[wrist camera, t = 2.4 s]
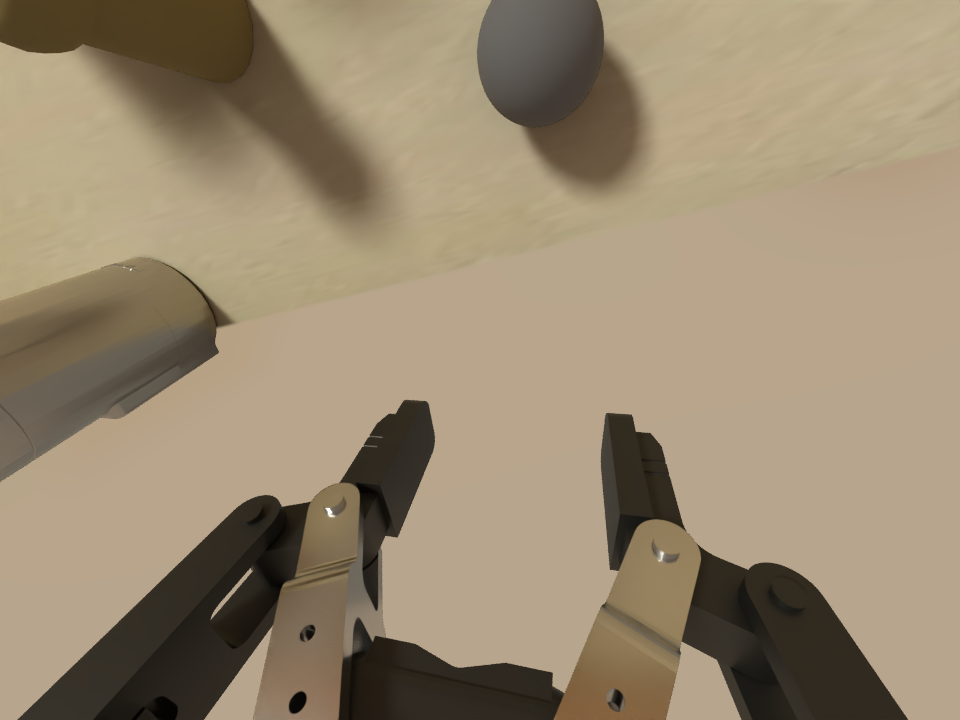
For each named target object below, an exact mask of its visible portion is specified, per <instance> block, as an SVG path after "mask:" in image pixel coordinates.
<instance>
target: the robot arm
mask: <svg viewBox="0 0 960 720" xmlns="http://www.w3.org/2000/svg"><path fill="white" fill-rule="evenodd" d="M215 338H216V323H215V320H214V317H213V314H212V312H211V310H210V308H209V306H208V304H207V302H206V301H205V299H204V298H203V296H202V295H201V294H200V292H199V291H198V290H197V289H196V288H195V287H194V286H193V285H192V284H191V283H190V282H189V281H188V280H187V279H186V278H185V277H184V276H182V275H181V274H180V273H178V272H177V271H175V270H174V269H172V268H171V267H169V266H167V265H165V264H163V263H161V262H158V261H155V260H152V259H149V258H133V259H129V260H126V261H123V262H120V263H115V264H111V265H108V266H105V267H102V268H100V269H98V270H95V271H92V272H89V273H86V274H83V275H79V276H76V277H73V278H70V279H67V280H64V281H61V282H58V283H54V284H51V285H48V286H45V287H42V288H39V289H36V290H33V291H30V292H27V293H24V294H21V295H18V296H15V297H12V298H8V299H5V300H2V301H0V482H1V481H2V480H4V479H5V478H7V477H9V476H10V475H12V474H13V473H15V472H16V471H18V470H19V469H21V468H23V467H24V466H26V465H27V464H29V463H31V462H32V461H33V460H35V459H36V458H38V457H40V456H41V455H43V454H44V453H46V452H47V451H49V450H50V449H52V448H54V447H55V446H57V445H58V444H60V443H61V442H63V441H64V440H66V439H68V438H69V437H71V436H72V435H74V434H75V433H77V432H79V431H80V430H82V429H83V428H85V427H86V426H88V425H90V424H91V423H93V422H94V421H96V420H97V419H99V418H110V419H118V418H121V417H124V416H125V415H127V414H128V413H130V412H131V411H133V410H134V409H136V408H137V407H139V406H140V405H142V404H143V403H145V402H146V401H148V400H149V399H151V398H152V397H154V396H155V395H157V394H158V393H160V392H161V391H163V390H164V389H166V388H167V387H169V386H170V385H172V384H173V383H175V382H176V381H178V380H179V379H181V378H182V377H183V376H185V375H186V374H188V373H190V372H191V371H192V370H194V369H195V368H197V367H198V366H200V365H201V364H203V363H204V362H206V361H207V360H209V359H210V358H212V357H213V356H215V355H216V354H218V352H219V351H218V349H217V347H216V345H215ZM434 443H435V435H434V429H433V424H432V420H431V414H430V409H429V405H428V403H427V402H426V401H415V400H404V401H403V403H402V404H401V406H400V408H399V409H398V411H397V413H396V414H388V415H387V416H386V417H384V418H383V419H382V420H381V421H380V422H379V423H377V425H376V426H375V428H374V429H373V431H372V432H371V434H370V437H369V438H368V439H367V440H366V442H365V444H364V447H362V448H361V450H360V451H359V453H358V455H357V456H356V458H355V459H354V461H353V463H352V464H351V466H350V467H349V469H348V471H347V472H346V474H345V476H344V477H343V478H342V480H341V482H340V483H337V484H334V485H331V486H328V487H327V488H325V489H323V490H322V491H320V492H319V493H318V494H317V495H316V496H315V497H314V498H313V500H312V501H311V502H308V503H302V504H296V505H290V506H285V507H282V506H281V504H280V502H279V501H278V499H277V498H275V497H273V496H270V495H263V496H258V497H255V498H252V499H250V500H248V501H246V502H244V503H243V504H241V505H240V506H238V507H237V508H236V509H235V510H234V511H233V512H232V513H231V514H230V515H229V516H228V517H227V518H226V519H225V520H224V521H222V522H221V523H220V525H218V526H217V527H216V528H215V529H214V530H213V531H212V532H211V533H210V534H209V535H208V536H207V537H206V538H205V539H204V540H203V541H202V542H201V543H200V544H199V545H198V546H197V547H196V548H195V549H194V550H192V551H191V552H190V553H189V554H188V555H187V556H186V557H185V558H184V559H183V560H182V561H181V562H180V563H179V564H178V565H177V566H176V567H175V568H174V569H173V570H172V571H171V572H170V573H169V574H168V575H167V576H166V577H165V578H164V579H163V580H161V581H160V582H159V583H158V584H157V585H156V586H155V587H154V588H153V589H152V590H151V591H150V592H149V593H148V594H147V595H146V596H145V597H144V598H143V599H142V600H141V601H140V602H139V603H138V604H137V605H136V606H135V607H134V608H133V609H132V610H130V612H128V613H127V614H126V615H125V616H124V617H123V618H122V619H121V620H120V621H119V622H118V623H117V624H116V625H115V626H114V627H113V628H112V629H111V630H110V631H109V632H108V633H107V634H106V635H105V636H104V637H103V638H102V639H100V640H99V642H97V643H96V644H95V645H94V646H93V647H92V648H91V649H90V650H89V651H88V652H87V653H86V654H85V655H84V656H83V657H82V658H81V659H80V660H79V661H78V662H77V663H76V664H75V665H74V666H73V667H72V668H71V669H69V670H68V671H67V673H65V674H64V675H63V676H62V677H61V678H60V679H59V680H58V681H57V682H56V683H55V684H54V685H53V686H52V687H51V688H50V689H49V690H48V691H47V692H46V693H45V694H44V695H43V696H42V697H41V698H40V699H38V701H37V702H35V703H34V704H33V705H32V706H31V707H30V708H29V709H28V710H27V711H26V712H25V713H24V714H23V715H22V716H21V717H20V718H19V719H18V720H204V719H205V717H206V716H207V715H208V713H209V712H210V710H211V709H212V708H213V706H214V705H215V704H216V702H217V701H218V700H219V698H220V697H221V695H222V694H223V693H224V691H225V690H226V689H227V687H228V686H229V684H230V683H231V682H232V680H233V679H234V678H235V676H236V675H237V674H238V672H239V671H240V669H241V668H242V667H243V665H244V664H245V662H246V661H247V660H248V658H249V657H250V656H251V654H252V653H253V651H254V650H255V649H256V647H257V646H258V645H259V643H260V642H261V641H262V639H263V638H264V636H265V635H266V634H267V632H268V631H269V630H270V628H271V627H272V626H273V628H272V633H271V638H270V643H269V647H268V651H267V656H266V661H265V665H264V670H263V675H262V680H261V684H260V689H259V693H258V698H257V703H256V707H255V712H254V716H253V720H666V717H667V713H668V708H669V704H670V700H671V696H672V691H673V687H674V683H675V679H676V675H677V670H678V666H679V660H680V654H681V652H680V645H681V641H682V642H684V643H686V644H688V645H690V646H692V647H694V648H696V649H697V650H700V651H701V652H703V653H705V654H707V655H709V656H711V657H713V658H715V659H717V661H718V663H719V665H720V668H721V671H722V673H723V675H724V678H725V680H726V683H727V685H728V688H729V690H730V693H731V695H732V697H733V700H734V702H735V705H736V707H737V710H738V712H739V715H740V717H741V719H742V720H908V719H907V717H906V716H905V715H904V713H903V712H902V710H901V709H900V707H899V706H898V704H897V703H896V702H895V700H894V699H893V698H892V696H891V694H890V693H889V691H888V690H887V689H886V687H885V686H884V684H883V683H882V681H881V680H880V678H879V677H878V675H877V674H876V672H875V671H874V669H873V668H872V667H871V665H870V664H869V662H868V661H867V659H866V658H865V656H864V655H863V654H862V652H861V650H860V649H859V648H858V646H857V645H856V643H855V642H854V640H853V639H852V637H851V636H850V634H849V633H848V632H847V630H846V629H845V627H844V626H843V624H842V623H841V621H840V620H839V619H838V617H837V616H836V614H835V613H834V611H833V610H832V608H831V607H830V605H829V604H828V602H827V601H826V600H825V598H824V597H823V595H822V594H821V593H820V592H819V590H818V589H817V588H816V587H815V586H814V585H813V584H812V583H811V582H809V581H808V580H807V579H806V578H804V577H803V576H802V575H800V574H799V573H797V572H795V571H793V570H791V569H789V568H787V567H785V566H782V565H779V564H774V563H758V564H755V565H753V566H752V567H751V568H750V569H749V570H747V569H745V568H742V567H740V566H737V565H735V564H732V563H730V562H727V561H725V560H723V559H720V558H718V557H716V556H714V555H712V554H710V553H708V552H707V551H705V550H704V549H702V548H701V547H700V546H699V545H698V544H697V543H696V542H695V541H694V539H693V538H692V537H691V536H690V534H688V533H687V531H686V530H685V528H684V525H683V523H682V519H681V516H680V512H679V509H678V505H677V501H676V498H675V494H674V491H673V487H672V483H671V480H670V477H669V472H668V468H667V465H666V464H665V457H664V454H663V450H662V447H661V445H660V444H659V443H658V442H657V440H656V439H655V438H654V437H653V436H652V435H651V433H642V432H636V431H635V426H634V421H633V417H632V415H628V414H614V413H606V416H605V424H604V432H603V440H602V449H601V472H602V484H603V495H604V506H605V518H606V529H607V541H608V553H609V562H610V563H609V565H610V570H616V571H619V572H618V574H617V577H616V579H615V581H614V584H613V586H612V589H611V591H610V593H609V596H608V598H607V600H606V602H605V604H603V605H602V606H601V608H600V610H599V613H598V614H597V617H596V619H595V621H594V624H593V627H592V629H591V631H590V633H589V636H588V638H587V641H586V643H585V645H584V648H583V650H582V653H581V655H580V658H579V660H578V662H577V665H576V667H575V669H574V672H573V674H572V677H571V679H570V682H569V684H568V686H567V689H566V691H565V693H563V692H562V691H560V690H558V689H556V688H555V687H553V686H552V677H553V673H551V672H546V671H542V670H537V669H532V668H527V667H523V666H518V665H513V664H508V663H501V664H491V665H482V666H473V667H464V668H457V667H454V666H451V665H450V664H448V663H446V662H445V661H443V660H441V659H440V658H438V657H436V656H435V655H433V654H431V653H429V652H428V651H426V650H424V649H423V648H421V647H420V646H418V645H416V644H413V643H408V642H403V641H398V640H394V639H388V638H386V634H385V629H384V624H383V610H382V551H381V548H380V546H381V544H382V542H383V540H384V538H385V536H391V537H398V535H399V533H400V530H401V528H402V526H403V523H404V521H405V518H406V516H407V513H408V511H409V509H410V506H411V504H412V501H413V499H414V496H415V494H416V492H417V489H418V487H419V484H420V482H421V479H422V477H423V475H424V472H425V469H426V467H427V465H428V462H429V460H430V458H431V455H432V453H433V449H434ZM250 568H251V570H252V571H253V572H252V573H251V574H250V575H249V576H248V577H247V579H246V580H245V581H244V582H243V583H242V585H241V586H240V587H239V588H238V589H237V590H236V591H235V593H234V594H233V595H232V596H231V597H230V598H229V600H228V601H227V602H226V603H225V604H224V605H223V607H222V608H221V609H220V610H219V611H218V612H217V614H216V615H215V616H214V617H213V618H212V619H211V616H212V614H213V612H214V610H215V609H216V607H217V606H218V605H219V603H220V602H221V601H222V600H223V599H224V598H225V596H226V595H227V594H228V593H229V592H230V591H231V590H232V588H233V587H234V586H235V585H236V584H237V583H238V581H239V580H240V579H241V578H242V577H243V576H244V575H245V573H246V572H247V571H248V570H249V569H250ZM210 619H211V620H210Z"/></svg>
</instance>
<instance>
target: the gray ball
mask: <svg viewBox="0 0 960 720" xmlns="http://www.w3.org/2000/svg"><path fill="white" fill-rule="evenodd" d="M603 47H604V30H603V21H602V16H601V12H600V9H599V6H598V3H597V1H596V0H492V1H491V3H490V5H489V7H488V9H487V11H486V13H485V16H484V18H483V21H482V25H481V28H480V33H479V38H478V48H477V59H478V69H479V75H480V79H481V82H482V85H483V88H484V91H485V93H486V95H487V97H488V98H489V100H490V102H491V103H492V105H493V106H494V107H495V108H496V109H497V111H498V112H500V113H501V114H502V115H503V116H504V117H506V118H507V119H509V120H510V121H512V122H514V123H516V124H519V125H523V126H528V127H541V126H547V125H550V124H553V123H555V122H557V121H560V120H562V119H563V118H565V117H566V116H568V115H569V114H570V113H571V112H573V111H574V110H575V109H576V108H577V107H578V106H579V105H580V104H581V102H582V101H583V100H584V98H585V97H586V96H587V94H588V93H589V91H590V89H591V87H592V86H593V84H594V81H595V79H596V77H597V74H598V71H599V68H600V64H601V60H602V55H603Z"/></svg>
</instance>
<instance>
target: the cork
mask: <svg viewBox="0 0 960 720" xmlns="http://www.w3.org/2000/svg"><path fill="white" fill-rule="evenodd" d="M0 42H2V43H5V44H7V45H10V46H13V47H16V48H19V49H22V50H25V51H27V52H36V53H62V52H68V51H73V50H75V49H76V48H78V47H79V46H81V45H82V44H85V45H88V46H92V47H95V48H99V49H102V50H106V51H109V52H113V53H116V54H120V55H123V56H127V57H130V58H134V59H137V60H140V61H144V62H147V63H151V64H154V65H158V66H161V67H165V68H168V69H172V70H175V71H179V72H182V73H186V74H189V75H193V76H196V77H200V78H203V79H206V80H210V81H213V82H231V81H233V80H234V79H236V78H238V77H240V76H241V75H242V74H243V72H244V71H245V69H246V68H247V66H248V65H249V62H250V58H251V54H252V50H253V26H252V22H251V18H250V14H249V10H248V6H247V2H246V0H0Z"/></svg>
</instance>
